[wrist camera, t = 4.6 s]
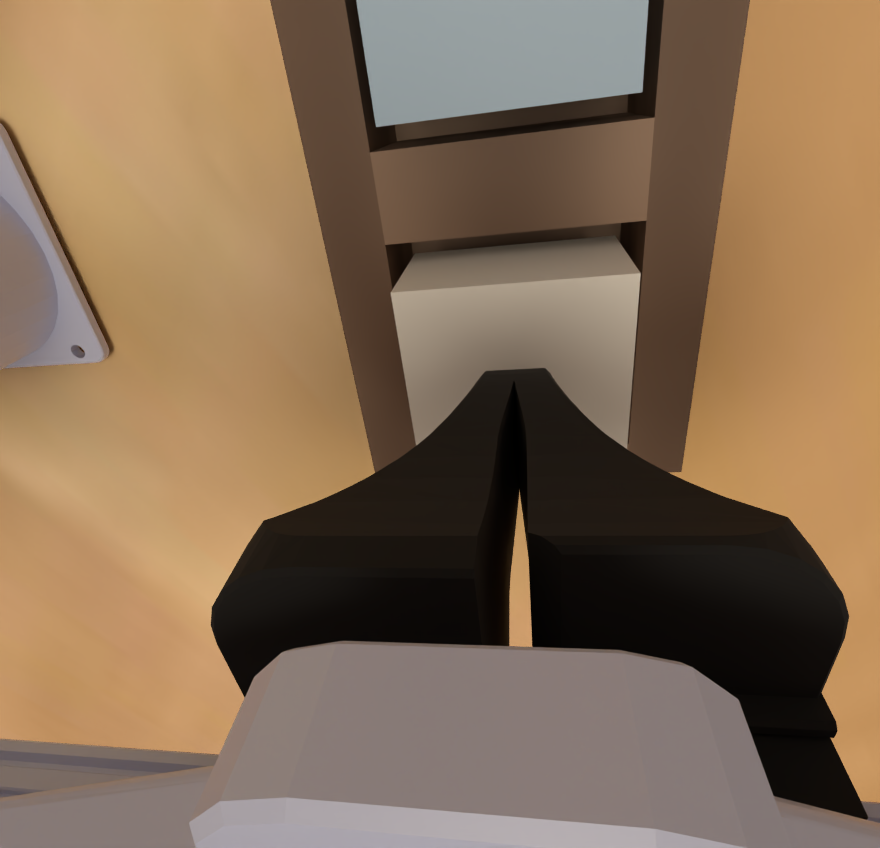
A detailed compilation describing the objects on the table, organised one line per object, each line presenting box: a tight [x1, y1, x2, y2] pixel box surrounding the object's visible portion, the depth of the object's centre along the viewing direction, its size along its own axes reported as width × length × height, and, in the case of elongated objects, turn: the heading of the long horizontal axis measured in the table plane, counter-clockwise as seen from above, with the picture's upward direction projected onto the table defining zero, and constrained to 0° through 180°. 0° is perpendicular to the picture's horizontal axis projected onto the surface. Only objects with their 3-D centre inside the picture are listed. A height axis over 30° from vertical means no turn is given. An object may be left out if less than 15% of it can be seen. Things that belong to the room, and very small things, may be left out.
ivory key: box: [391, 236, 641, 449], centre depth 13 cm, size 5×5×3 cm
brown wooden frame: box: [270, 0, 750, 473], centre depth 14 cm, size 9×16×4 cm, turn 7°
